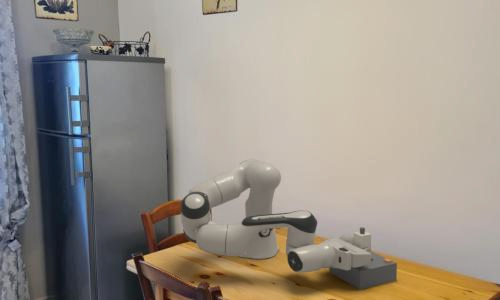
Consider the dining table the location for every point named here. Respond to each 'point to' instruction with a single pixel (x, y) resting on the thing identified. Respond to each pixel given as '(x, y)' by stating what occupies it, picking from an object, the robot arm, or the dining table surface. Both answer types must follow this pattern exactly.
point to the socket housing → (369, 273)
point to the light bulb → (347, 238)
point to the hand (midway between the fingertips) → (364, 247)
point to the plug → (362, 239)
